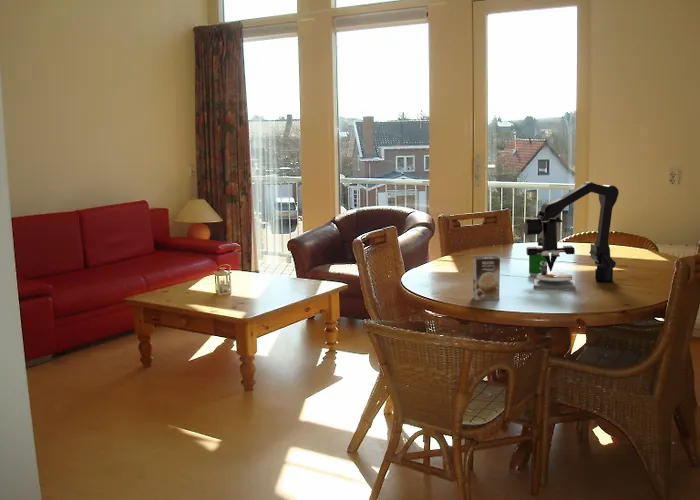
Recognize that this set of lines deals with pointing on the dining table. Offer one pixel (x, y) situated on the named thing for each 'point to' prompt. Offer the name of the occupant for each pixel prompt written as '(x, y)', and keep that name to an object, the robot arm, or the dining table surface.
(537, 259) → the soda can
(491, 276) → the coffee box
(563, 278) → the handwheel
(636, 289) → the dining table surface
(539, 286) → the wheel base
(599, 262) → the robot arm
